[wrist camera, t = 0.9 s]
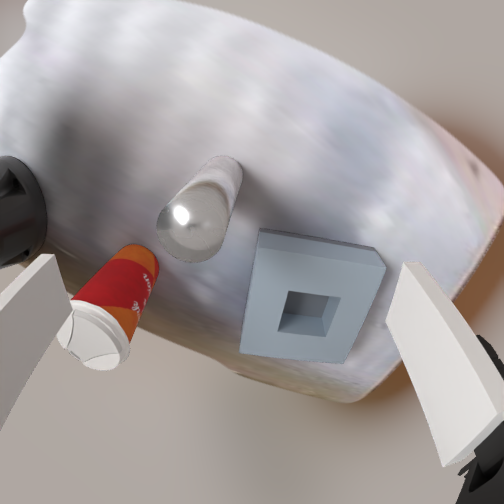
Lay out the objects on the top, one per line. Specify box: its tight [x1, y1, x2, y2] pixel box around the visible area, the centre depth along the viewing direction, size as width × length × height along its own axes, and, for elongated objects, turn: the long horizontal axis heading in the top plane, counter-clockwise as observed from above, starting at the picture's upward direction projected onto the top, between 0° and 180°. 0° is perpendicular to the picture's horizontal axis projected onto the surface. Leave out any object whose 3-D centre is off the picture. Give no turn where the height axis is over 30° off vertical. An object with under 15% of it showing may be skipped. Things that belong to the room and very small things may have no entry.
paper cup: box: [56, 244, 159, 371], centre depth 29 cm, size 8×8×14 cm
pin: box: [157, 155, 243, 263], centre depth 23 cm, size 4×4×14 cm
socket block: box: [239, 228, 387, 364], centre depth 33 cm, size 13×14×4 cm
